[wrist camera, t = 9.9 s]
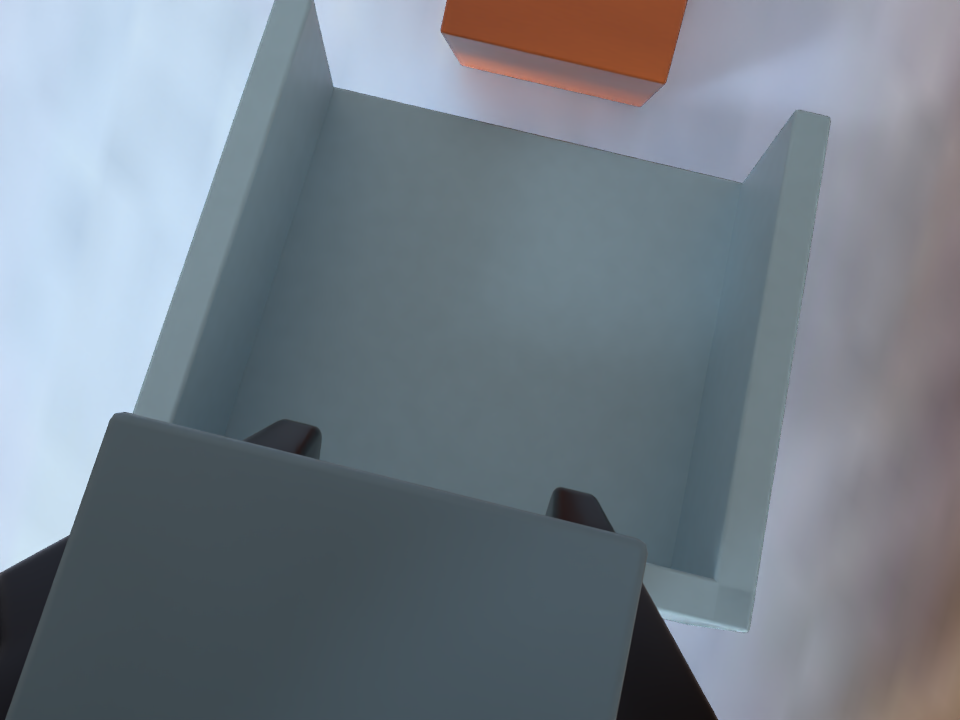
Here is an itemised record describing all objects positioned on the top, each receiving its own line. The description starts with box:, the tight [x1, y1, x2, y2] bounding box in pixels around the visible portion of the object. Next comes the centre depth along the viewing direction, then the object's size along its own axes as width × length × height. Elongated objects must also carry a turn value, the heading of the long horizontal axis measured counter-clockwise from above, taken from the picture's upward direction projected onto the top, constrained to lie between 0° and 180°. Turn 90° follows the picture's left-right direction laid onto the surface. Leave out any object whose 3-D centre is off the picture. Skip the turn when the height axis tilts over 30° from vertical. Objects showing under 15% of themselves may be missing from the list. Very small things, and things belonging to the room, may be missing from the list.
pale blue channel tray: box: [5, 0, 831, 720], centre depth 11 cm, size 10×9×12 cm
